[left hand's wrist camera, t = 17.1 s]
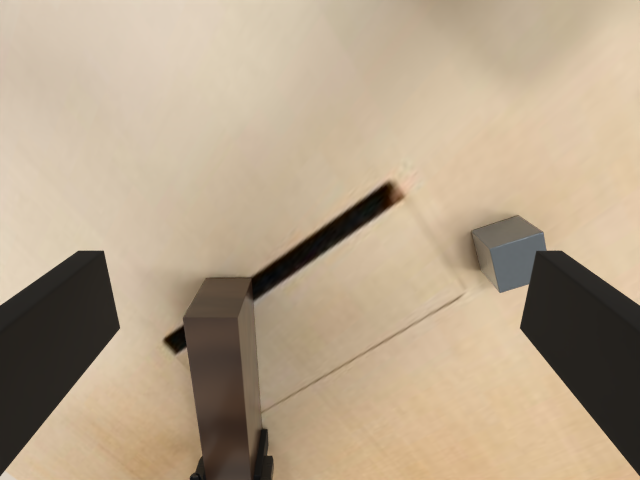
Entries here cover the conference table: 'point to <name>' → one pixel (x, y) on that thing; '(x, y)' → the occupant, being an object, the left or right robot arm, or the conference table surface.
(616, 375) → the left robot arm
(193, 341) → the walnut bar
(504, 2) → the conference table surface
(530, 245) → the grey block
